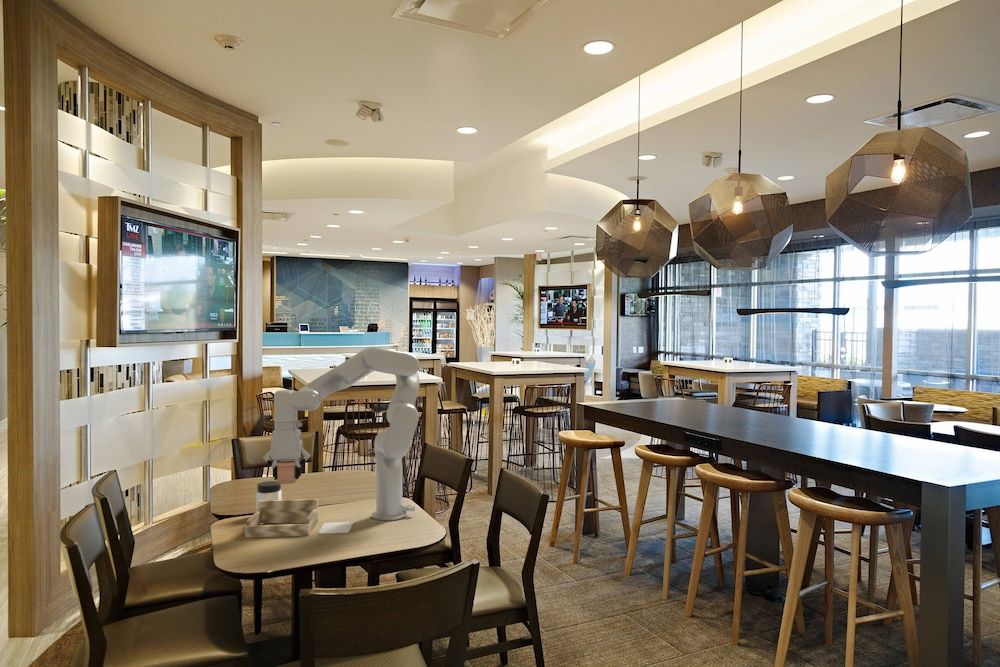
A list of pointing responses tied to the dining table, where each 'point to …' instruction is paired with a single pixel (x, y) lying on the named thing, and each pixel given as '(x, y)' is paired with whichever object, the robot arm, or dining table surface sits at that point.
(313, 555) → the dining table surface
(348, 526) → the tile
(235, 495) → the dining table surface
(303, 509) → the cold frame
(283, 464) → the pot
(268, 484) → the jar
